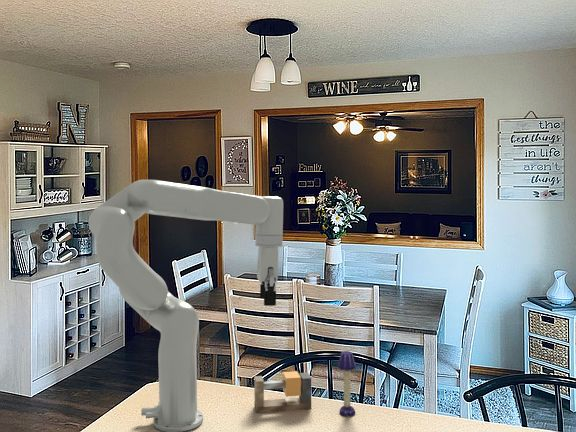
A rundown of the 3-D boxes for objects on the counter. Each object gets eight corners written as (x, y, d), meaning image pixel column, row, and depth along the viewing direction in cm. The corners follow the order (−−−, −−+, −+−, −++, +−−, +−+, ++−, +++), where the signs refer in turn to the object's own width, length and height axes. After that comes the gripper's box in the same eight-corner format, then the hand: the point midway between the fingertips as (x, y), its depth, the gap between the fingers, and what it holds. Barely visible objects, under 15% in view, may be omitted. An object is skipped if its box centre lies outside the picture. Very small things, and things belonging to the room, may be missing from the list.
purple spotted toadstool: (354, 417, 148) (354, 355, 147) (336, 416, 149) (337, 354, 148) (355, 410, 153) (356, 350, 152) (338, 409, 154) (339, 348, 153)
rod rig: (256, 412, 152) (256, 381, 151) (254, 406, 156) (254, 376, 155) (311, 408, 154) (311, 378, 154) (307, 402, 159) (307, 372, 158)
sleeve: (286, 396, 152) (286, 378, 152) (282, 389, 157) (282, 372, 157) (300, 395, 153) (300, 377, 153) (296, 388, 158) (296, 371, 158)
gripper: (252, 237, 165) (251, 295, 166) (258, 244, 148) (257, 308, 149) (278, 237, 167) (276, 295, 168) (287, 244, 150) (285, 308, 151)
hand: (267, 301), depth 158 cm, fingers open, 9 cm apart
